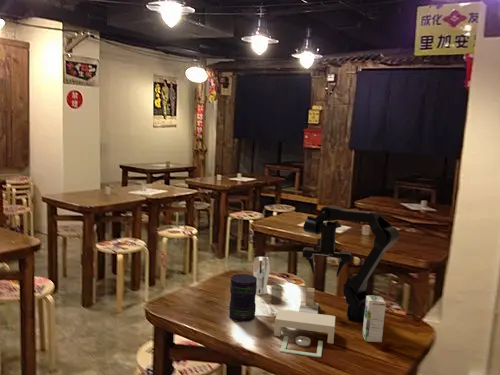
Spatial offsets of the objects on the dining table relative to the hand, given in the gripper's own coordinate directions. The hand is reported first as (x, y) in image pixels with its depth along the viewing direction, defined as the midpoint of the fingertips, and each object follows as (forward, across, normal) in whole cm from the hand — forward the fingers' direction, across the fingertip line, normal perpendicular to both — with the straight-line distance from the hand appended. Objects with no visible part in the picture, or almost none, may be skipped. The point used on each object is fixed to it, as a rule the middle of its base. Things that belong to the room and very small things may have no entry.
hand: (325, 275), depth 190 cm
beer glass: (+13, +27, -7) cm, 31 cm away
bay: (+13, +5, +37) cm, 40 cm away
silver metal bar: (+13, +5, +12) cm, 19 cm away
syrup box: (+13, -18, +24) cm, 33 cm away
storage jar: (+13, +29, +20) cm, 38 cm away
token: (+13, +5, +35) cm, 37 cm away
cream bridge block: (+13, +5, +28) cm, 31 cm away
